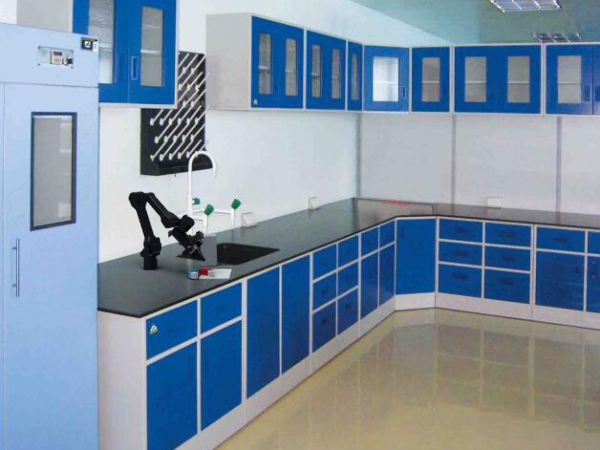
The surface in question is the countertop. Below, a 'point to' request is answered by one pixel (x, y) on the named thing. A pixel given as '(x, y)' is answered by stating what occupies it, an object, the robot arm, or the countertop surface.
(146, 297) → the countertop surface
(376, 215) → the countertop surface
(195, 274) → the magnet
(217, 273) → the white paper sheet
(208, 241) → the skincare box
